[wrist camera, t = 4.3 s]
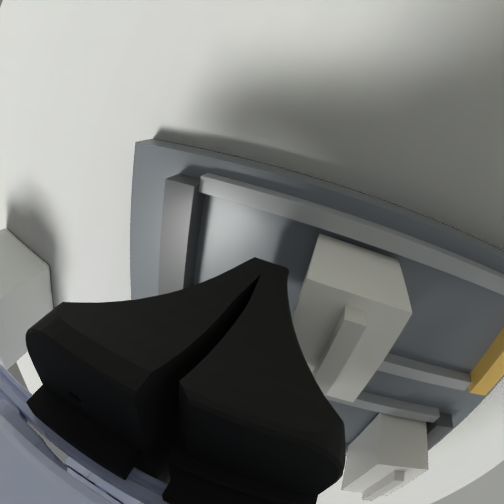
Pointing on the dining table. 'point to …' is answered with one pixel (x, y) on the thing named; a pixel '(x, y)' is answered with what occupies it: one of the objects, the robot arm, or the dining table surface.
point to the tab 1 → (349, 315)
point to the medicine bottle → (20, 295)
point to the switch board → (298, 259)
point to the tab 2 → (386, 456)
